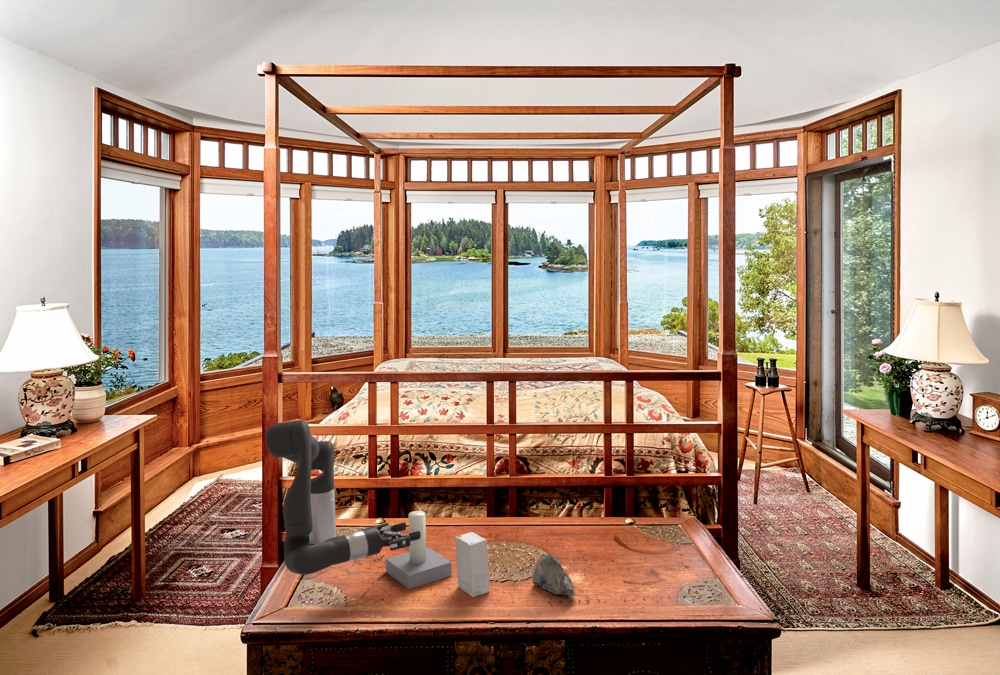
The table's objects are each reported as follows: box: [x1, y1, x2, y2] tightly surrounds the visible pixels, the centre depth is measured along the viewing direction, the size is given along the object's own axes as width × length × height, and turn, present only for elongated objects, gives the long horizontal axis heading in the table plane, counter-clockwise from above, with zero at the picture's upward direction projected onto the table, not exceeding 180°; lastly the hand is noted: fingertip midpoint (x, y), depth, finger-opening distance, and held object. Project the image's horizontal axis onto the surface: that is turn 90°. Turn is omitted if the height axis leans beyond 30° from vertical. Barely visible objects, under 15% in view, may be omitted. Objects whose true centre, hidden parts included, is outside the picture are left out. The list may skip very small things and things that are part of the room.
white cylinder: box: [408, 510, 427, 564], centre depth 190 cm, size 5×5×14 cm
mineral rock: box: [532, 552, 576, 597], centre depth 179 cm, size 13×11×10 cm
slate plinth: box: [385, 546, 453, 590], centre depth 191 cm, size 14×14×4 cm
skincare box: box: [455, 531, 491, 598], centre depth 180 cm, size 8×6×15 cm
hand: (412, 530), depth 189 cm, fingers open, 8 cm apart
